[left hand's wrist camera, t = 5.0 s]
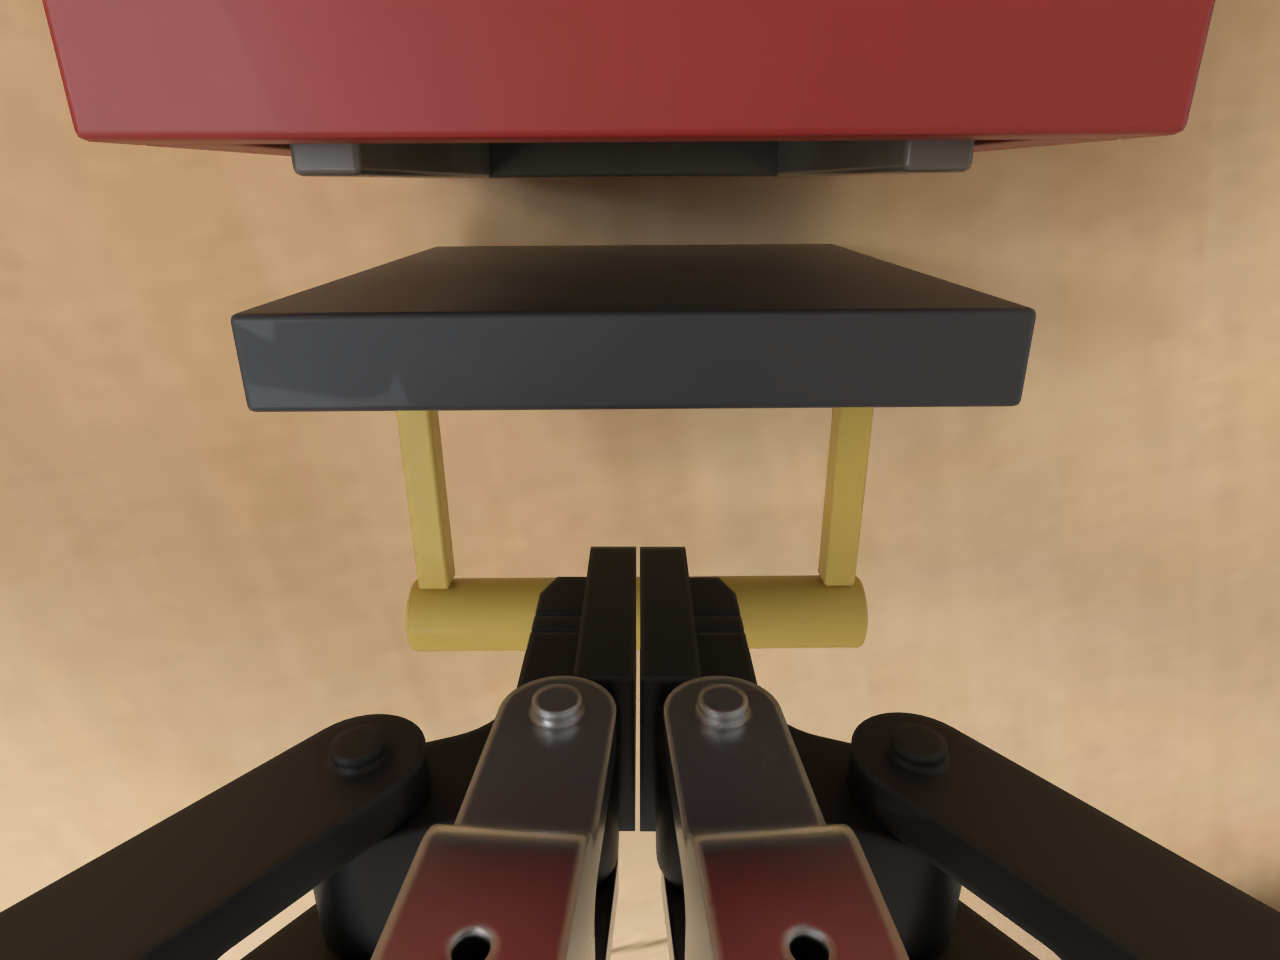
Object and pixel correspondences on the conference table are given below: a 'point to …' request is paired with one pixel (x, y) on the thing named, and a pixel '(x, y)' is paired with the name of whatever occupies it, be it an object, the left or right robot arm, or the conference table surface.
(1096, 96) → the cabinet
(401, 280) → the drawer
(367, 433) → the conference table surface
